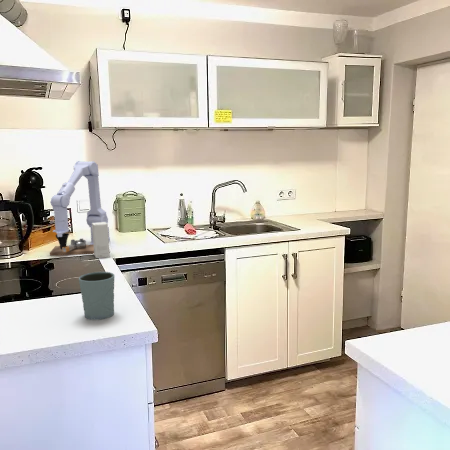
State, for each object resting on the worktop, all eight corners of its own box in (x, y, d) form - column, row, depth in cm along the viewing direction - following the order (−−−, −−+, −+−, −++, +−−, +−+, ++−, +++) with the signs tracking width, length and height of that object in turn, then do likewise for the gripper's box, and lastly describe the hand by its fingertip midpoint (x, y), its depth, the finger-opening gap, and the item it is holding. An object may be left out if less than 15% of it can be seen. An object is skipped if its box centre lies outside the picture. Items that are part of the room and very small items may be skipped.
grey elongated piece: (76, 245, 227) (75, 238, 226) (88, 246, 225) (88, 238, 224) (57, 252, 212) (57, 244, 211) (71, 253, 210) (70, 245, 209)
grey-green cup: (122, 314, 137) (121, 275, 135) (93, 323, 129) (91, 283, 128) (103, 306, 144) (101, 269, 142) (74, 315, 136) (72, 276, 134)
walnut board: (96, 247, 231) (96, 244, 231) (94, 253, 216) (94, 250, 216) (55, 249, 227) (55, 245, 227) (49, 255, 213) (49, 252, 212)
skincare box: (110, 257, 209) (108, 224, 207) (95, 258, 207) (93, 224, 204) (107, 253, 217) (106, 221, 214) (93, 254, 214) (91, 222, 212)
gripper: (55, 218, 218) (57, 246, 220) (49, 223, 204) (51, 253, 206) (70, 217, 219) (72, 245, 221) (65, 222, 205) (67, 252, 207)
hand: (63, 249), depth 214 cm, fingers closed, pressing on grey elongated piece
